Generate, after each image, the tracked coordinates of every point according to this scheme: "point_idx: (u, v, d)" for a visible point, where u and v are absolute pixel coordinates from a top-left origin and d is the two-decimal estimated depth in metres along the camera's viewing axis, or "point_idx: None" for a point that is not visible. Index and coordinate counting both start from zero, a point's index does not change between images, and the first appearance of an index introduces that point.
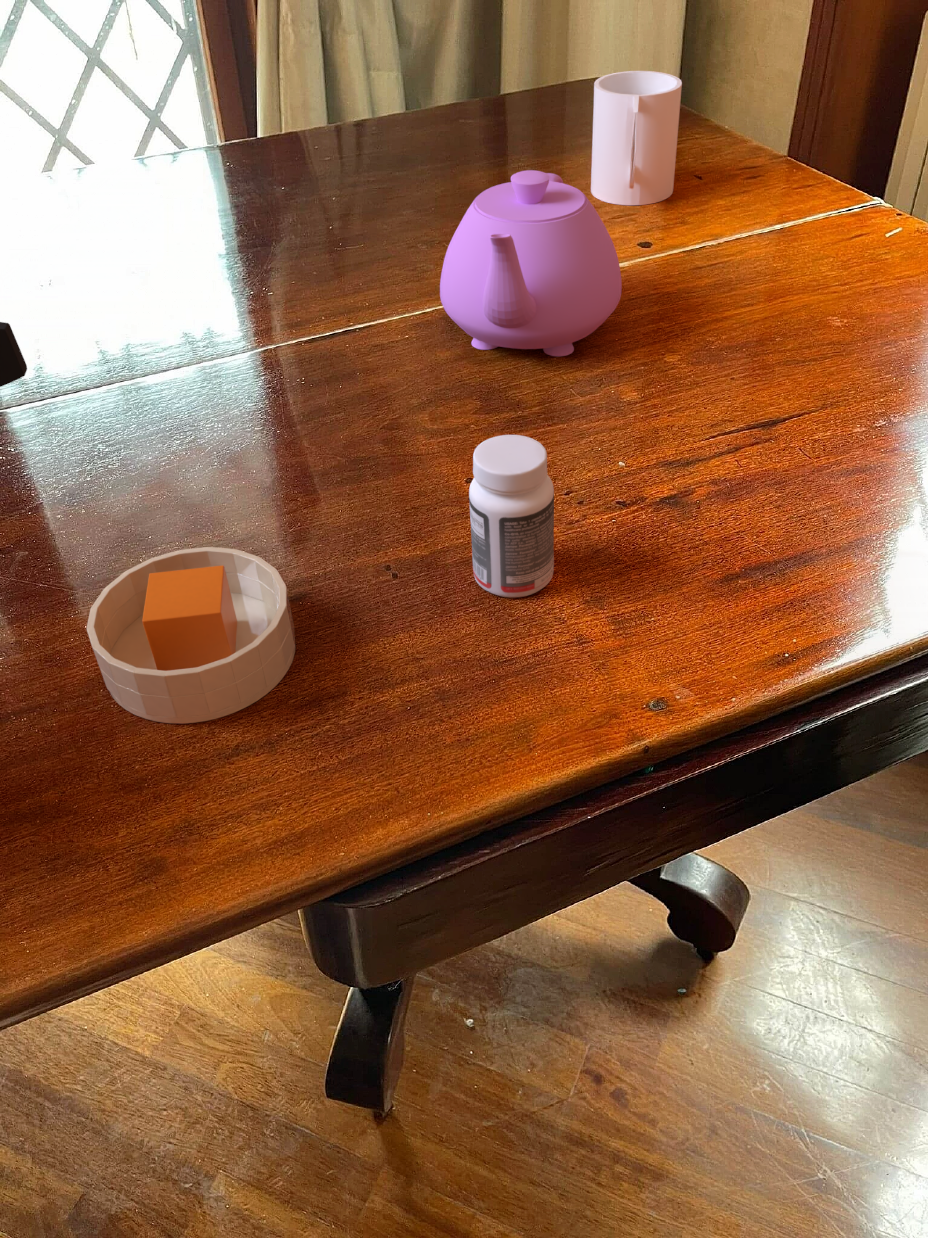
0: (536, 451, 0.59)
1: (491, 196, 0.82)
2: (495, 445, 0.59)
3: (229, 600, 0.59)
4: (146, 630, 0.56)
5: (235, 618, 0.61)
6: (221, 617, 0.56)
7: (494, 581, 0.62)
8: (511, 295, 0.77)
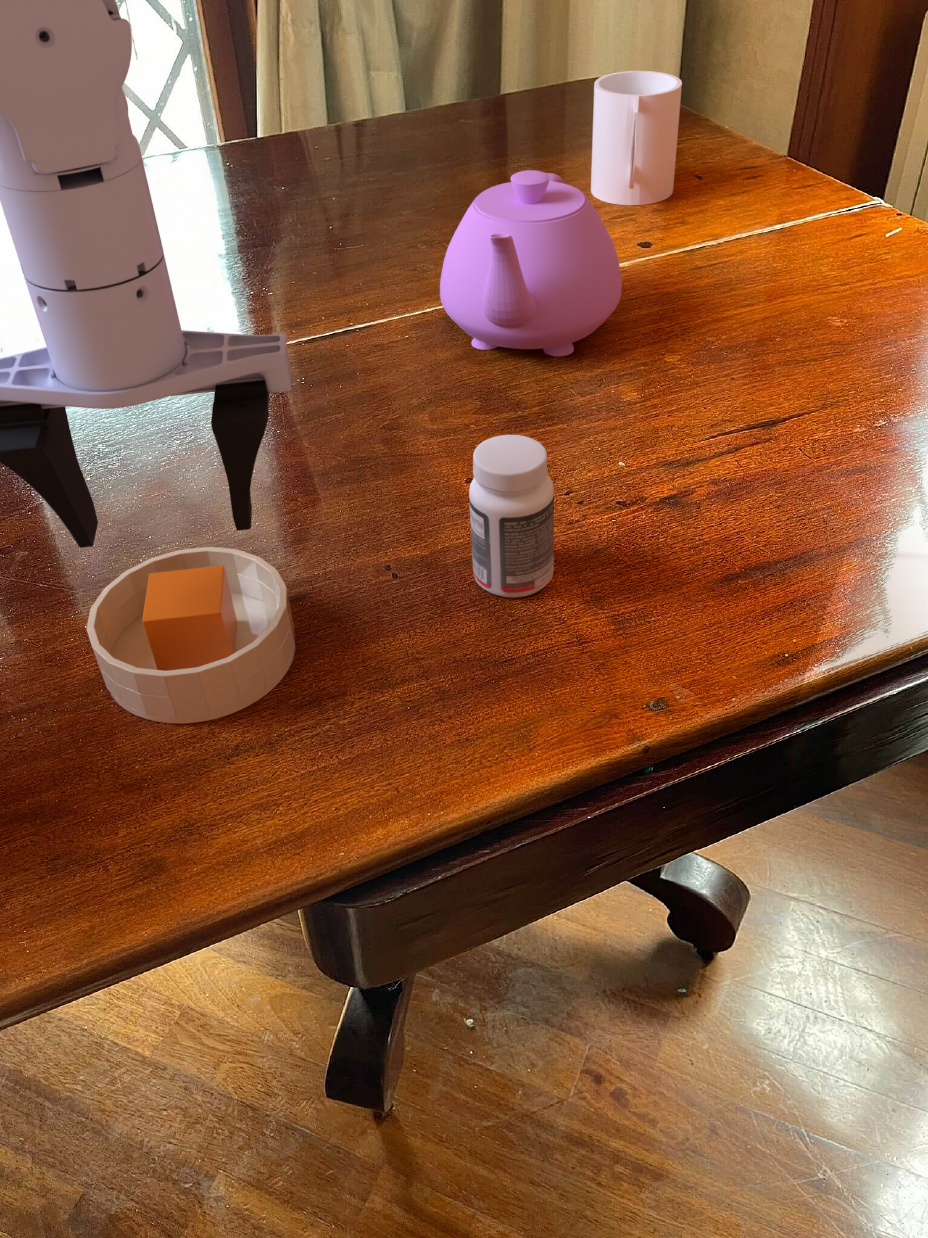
0: (536, 451, 0.59)
1: (491, 196, 0.82)
2: (495, 445, 0.59)
3: (229, 600, 0.59)
4: (146, 630, 0.56)
5: (235, 618, 0.61)
6: (221, 617, 0.56)
7: (494, 581, 0.62)
8: (511, 295, 0.77)
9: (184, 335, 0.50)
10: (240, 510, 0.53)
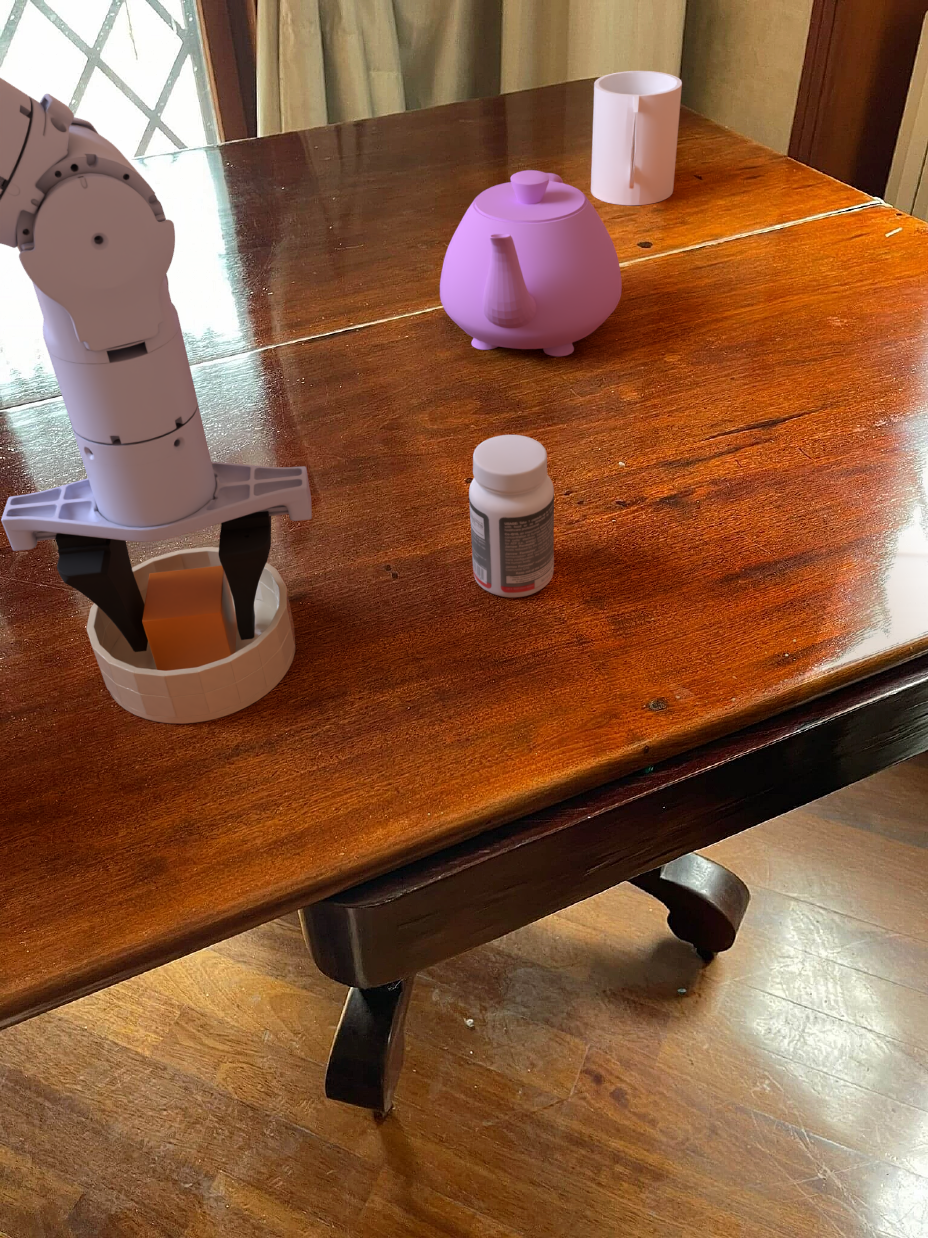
0: (536, 451, 0.59)
1: (491, 196, 0.82)
2: (495, 445, 0.59)
3: (229, 600, 0.59)
4: (146, 630, 0.56)
5: (235, 618, 0.61)
6: (221, 617, 0.56)
7: (494, 581, 0.62)
8: (511, 295, 0.77)
9: (213, 466, 0.55)
10: (244, 623, 0.57)
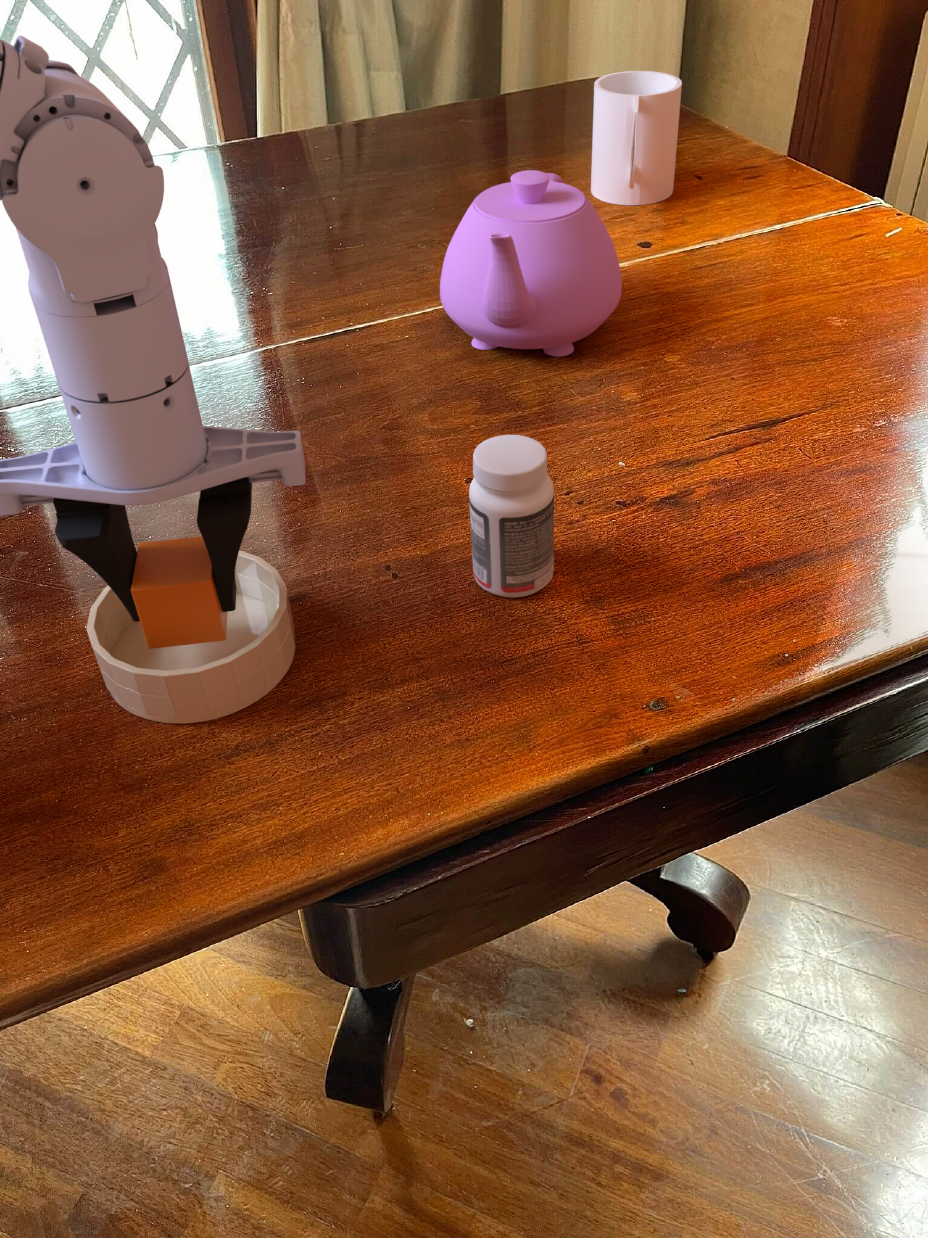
0: (536, 451, 0.59)
1: (491, 196, 0.82)
2: (495, 445, 0.59)
3: None
4: (135, 599, 0.55)
5: None
6: (212, 586, 0.55)
7: (494, 581, 0.62)
8: (511, 295, 0.77)
9: (205, 430, 0.53)
10: (225, 594, 0.56)
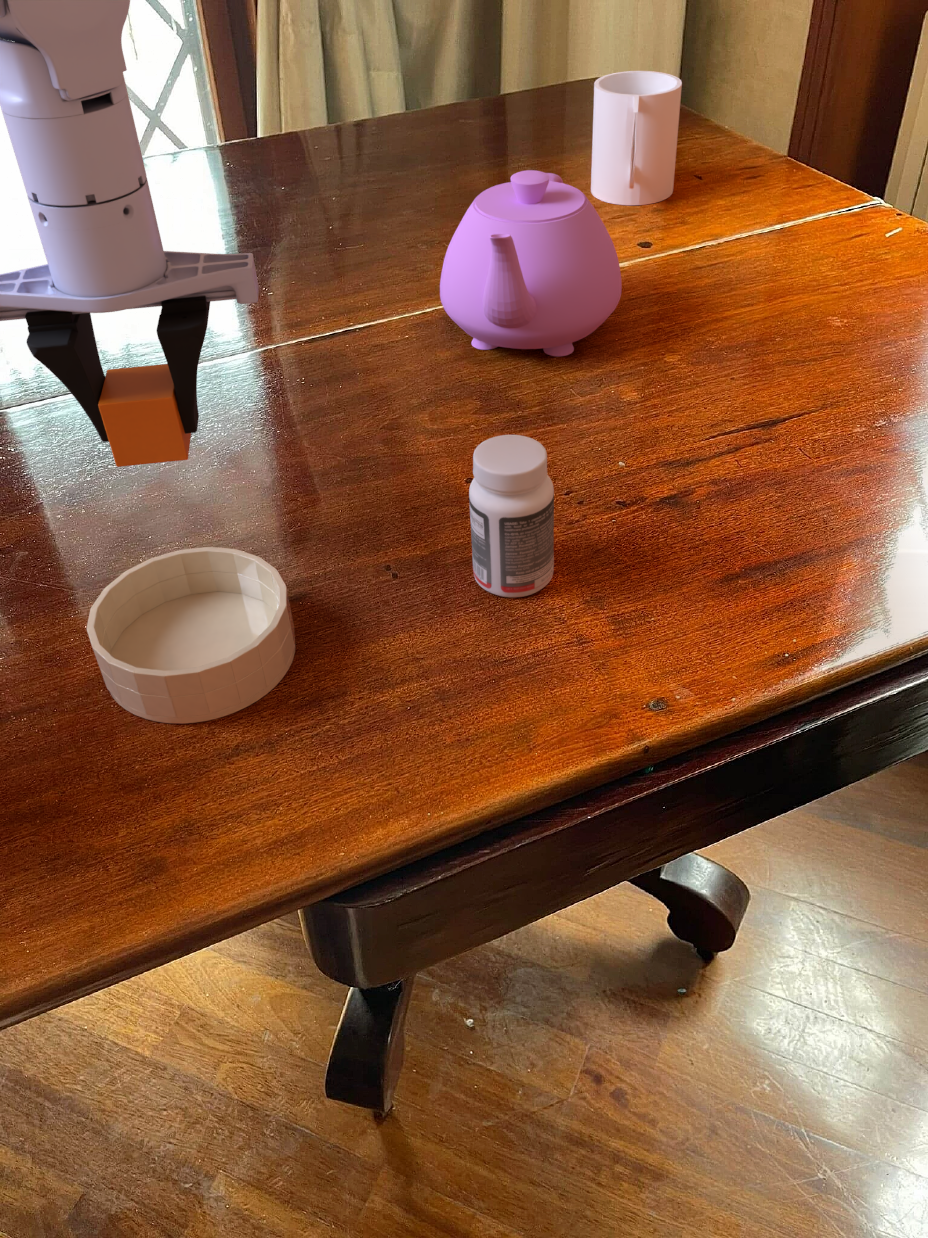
0: (536, 451, 0.59)
1: (491, 196, 0.82)
2: (495, 445, 0.59)
3: None
4: (102, 414, 0.59)
5: None
6: (173, 402, 0.59)
7: (494, 581, 0.62)
8: (511, 295, 0.77)
9: (166, 255, 0.58)
10: (186, 414, 0.60)
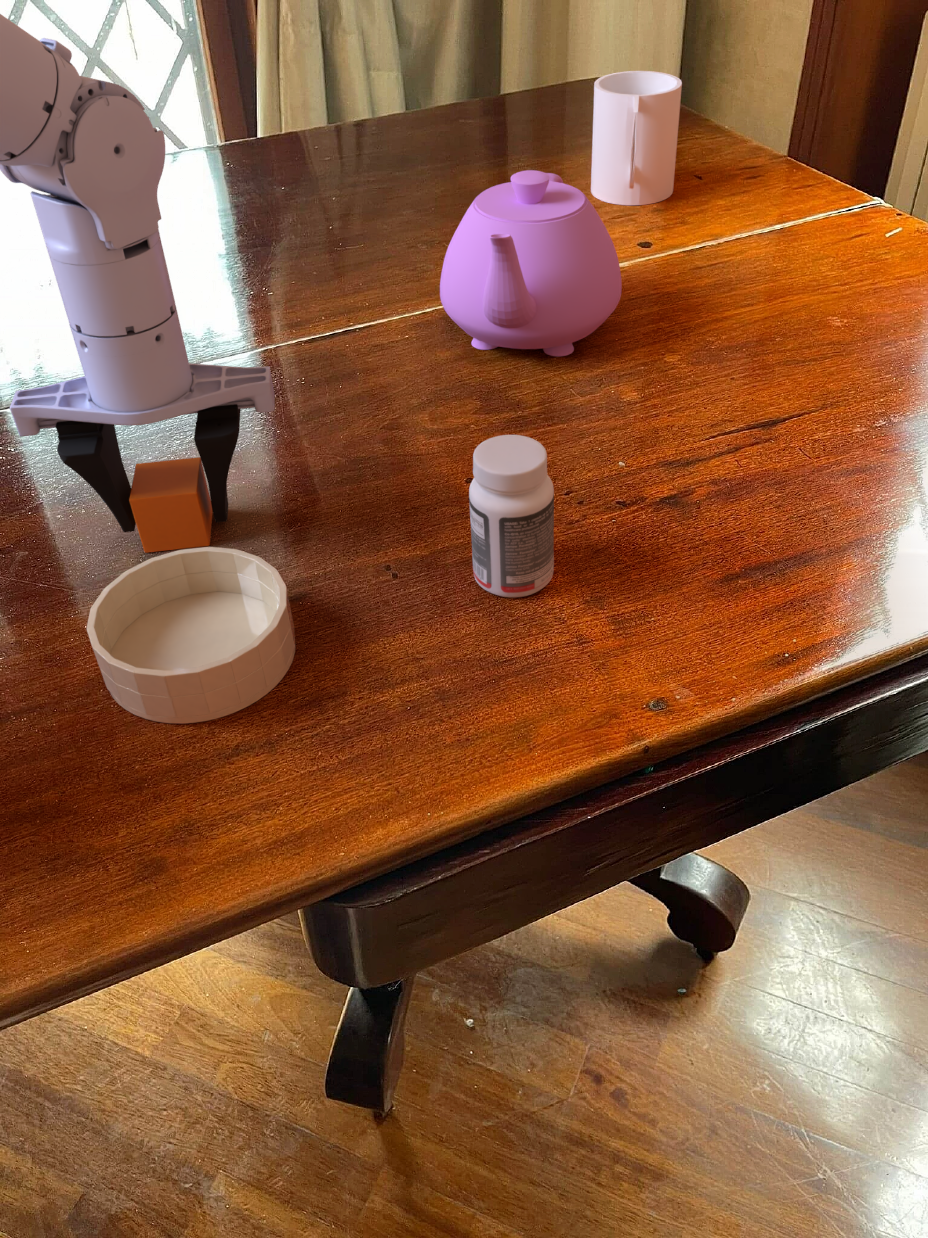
0: (536, 451, 0.59)
1: (491, 196, 0.82)
2: (495, 445, 0.59)
3: (205, 488, 0.69)
4: (132, 508, 0.65)
5: (211, 506, 0.70)
6: (197, 497, 0.65)
7: (494, 581, 0.62)
8: (511, 295, 0.77)
9: (191, 367, 0.64)
10: (218, 506, 0.67)
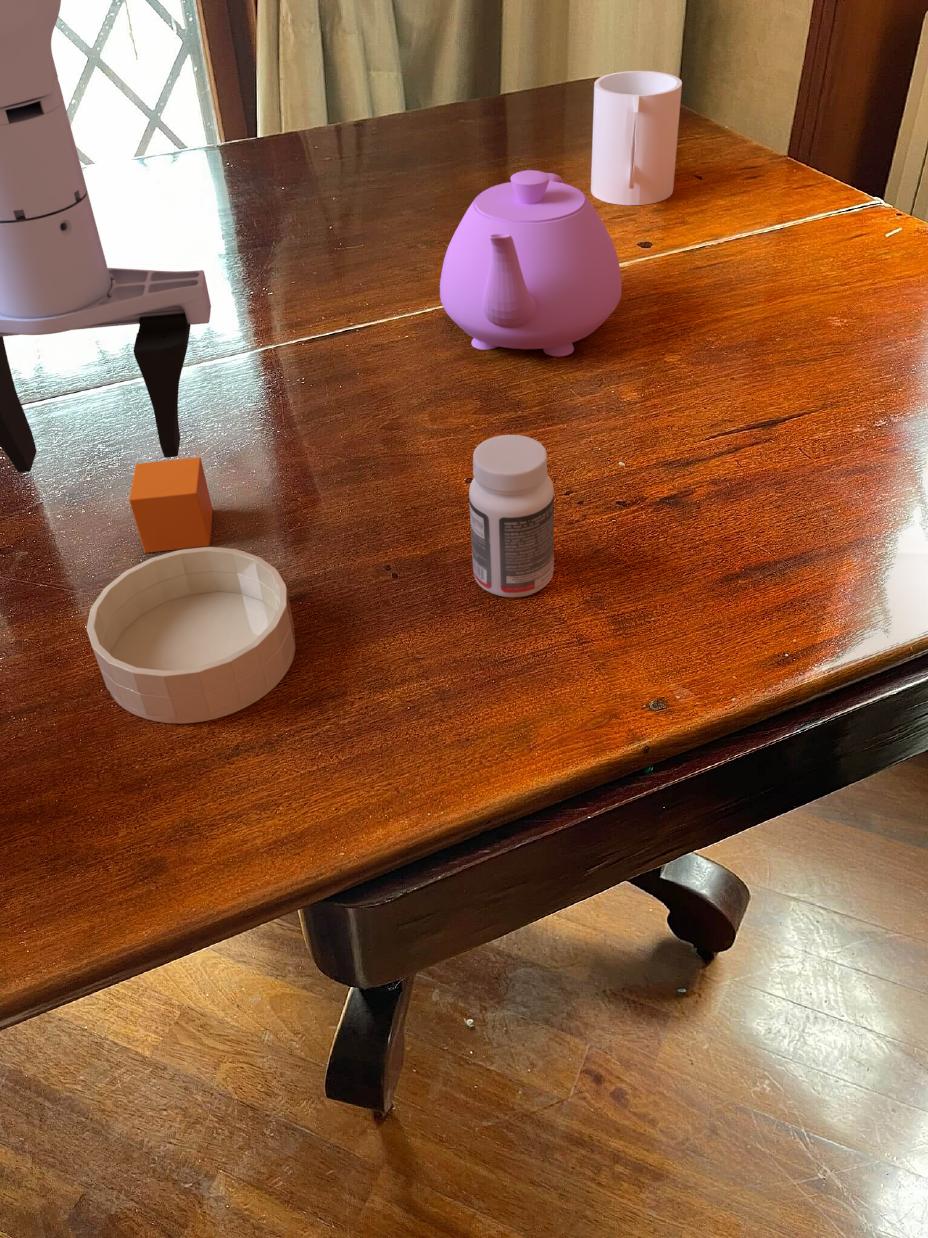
0: (536, 451, 0.59)
1: (491, 196, 0.82)
2: (495, 445, 0.59)
3: (205, 488, 0.69)
4: (132, 508, 0.65)
5: (211, 506, 0.70)
6: (197, 497, 0.65)
7: (494, 581, 0.62)
8: (511, 295, 0.77)
9: (112, 272, 0.54)
10: (166, 437, 0.57)
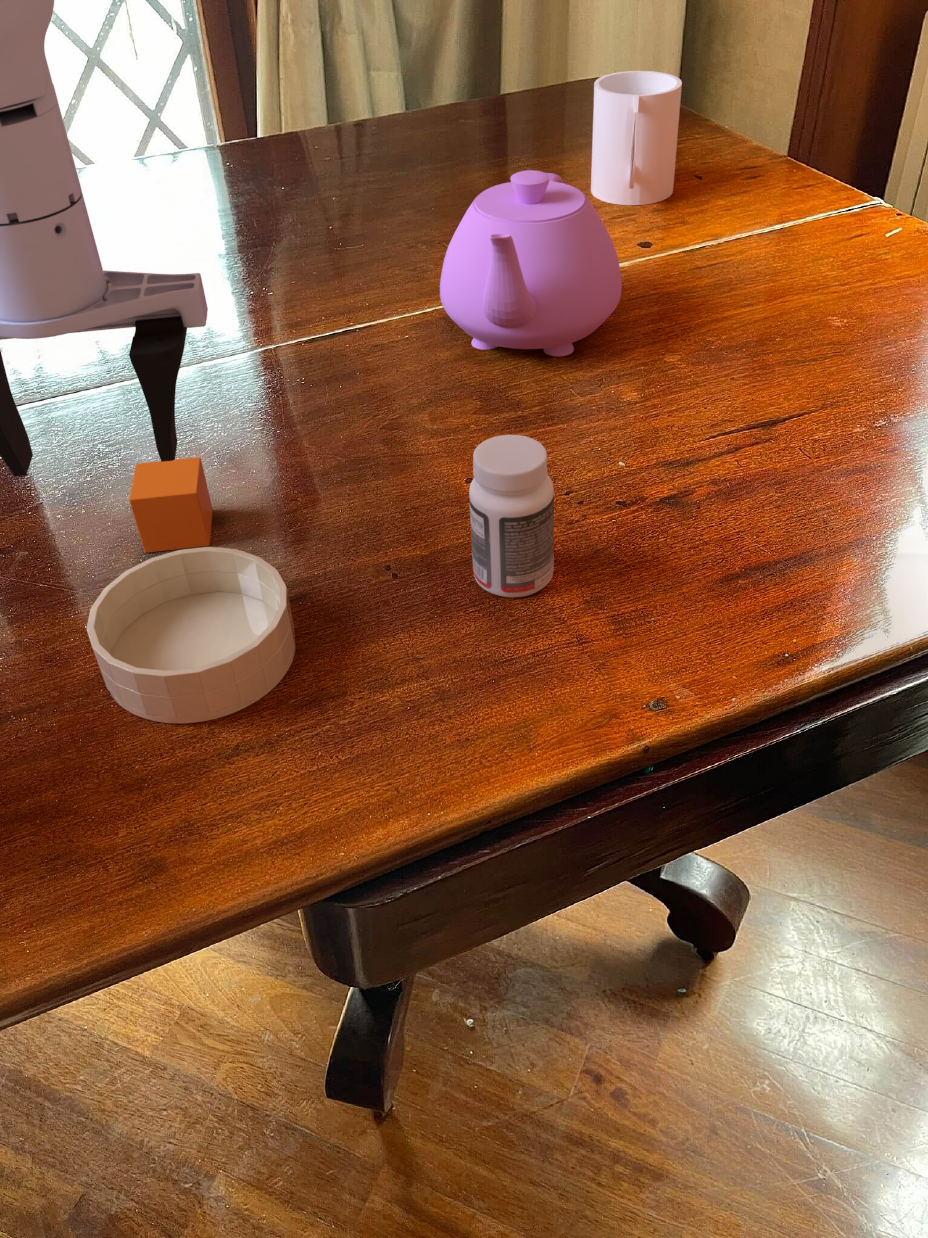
0: (536, 451, 0.59)
1: (491, 196, 0.82)
2: (495, 445, 0.59)
3: (205, 488, 0.69)
4: (132, 508, 0.65)
5: (211, 506, 0.70)
6: (197, 497, 0.65)
7: (494, 581, 0.62)
8: (511, 295, 0.77)
9: (107, 275, 0.54)
10: (163, 441, 0.56)
